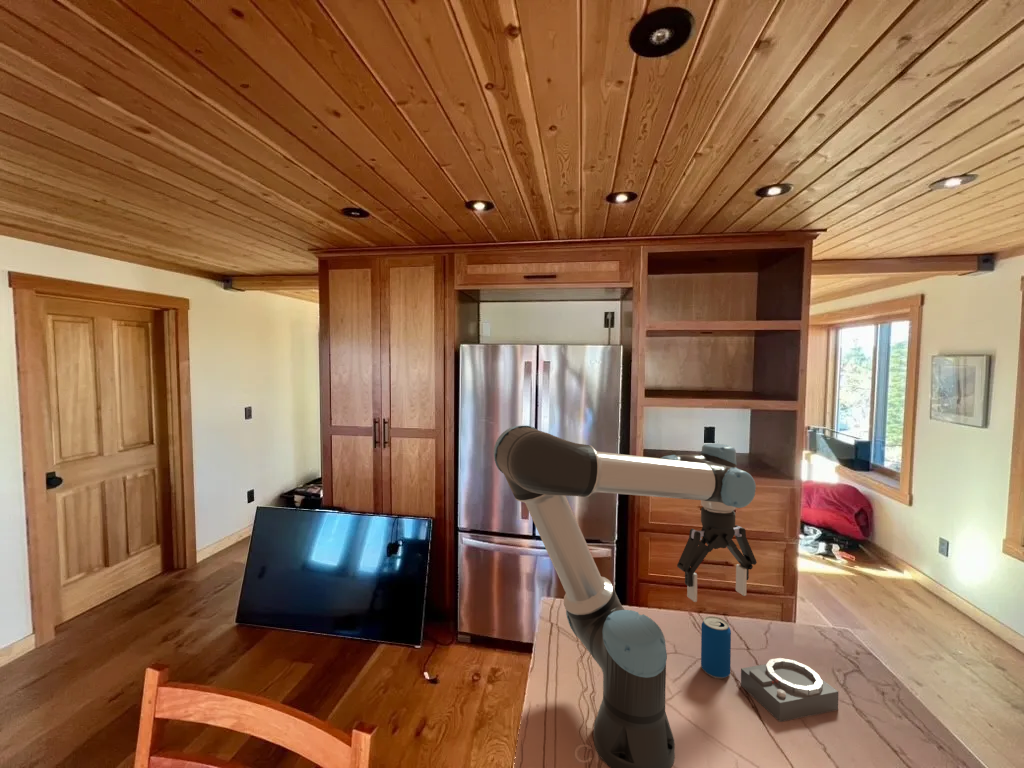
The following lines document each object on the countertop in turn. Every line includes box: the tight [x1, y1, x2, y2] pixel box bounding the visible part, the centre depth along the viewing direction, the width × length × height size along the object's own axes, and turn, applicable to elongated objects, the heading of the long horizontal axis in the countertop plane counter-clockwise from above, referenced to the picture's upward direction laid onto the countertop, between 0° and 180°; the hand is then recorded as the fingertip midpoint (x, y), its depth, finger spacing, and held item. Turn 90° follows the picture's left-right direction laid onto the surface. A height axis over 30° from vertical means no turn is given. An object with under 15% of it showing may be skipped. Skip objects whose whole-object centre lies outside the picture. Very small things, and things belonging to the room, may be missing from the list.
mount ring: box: [765, 657, 823, 696], centre depth 98 cm, size 10×10×1 cm
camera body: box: [740, 659, 839, 723], centre depth 98 cm, size 15×11×5 cm
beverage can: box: [700, 615, 732, 680], centre depth 106 cm, size 6×6×12 cm
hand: (716, 596), depth 106 cm, fingers open, 13 cm apart
